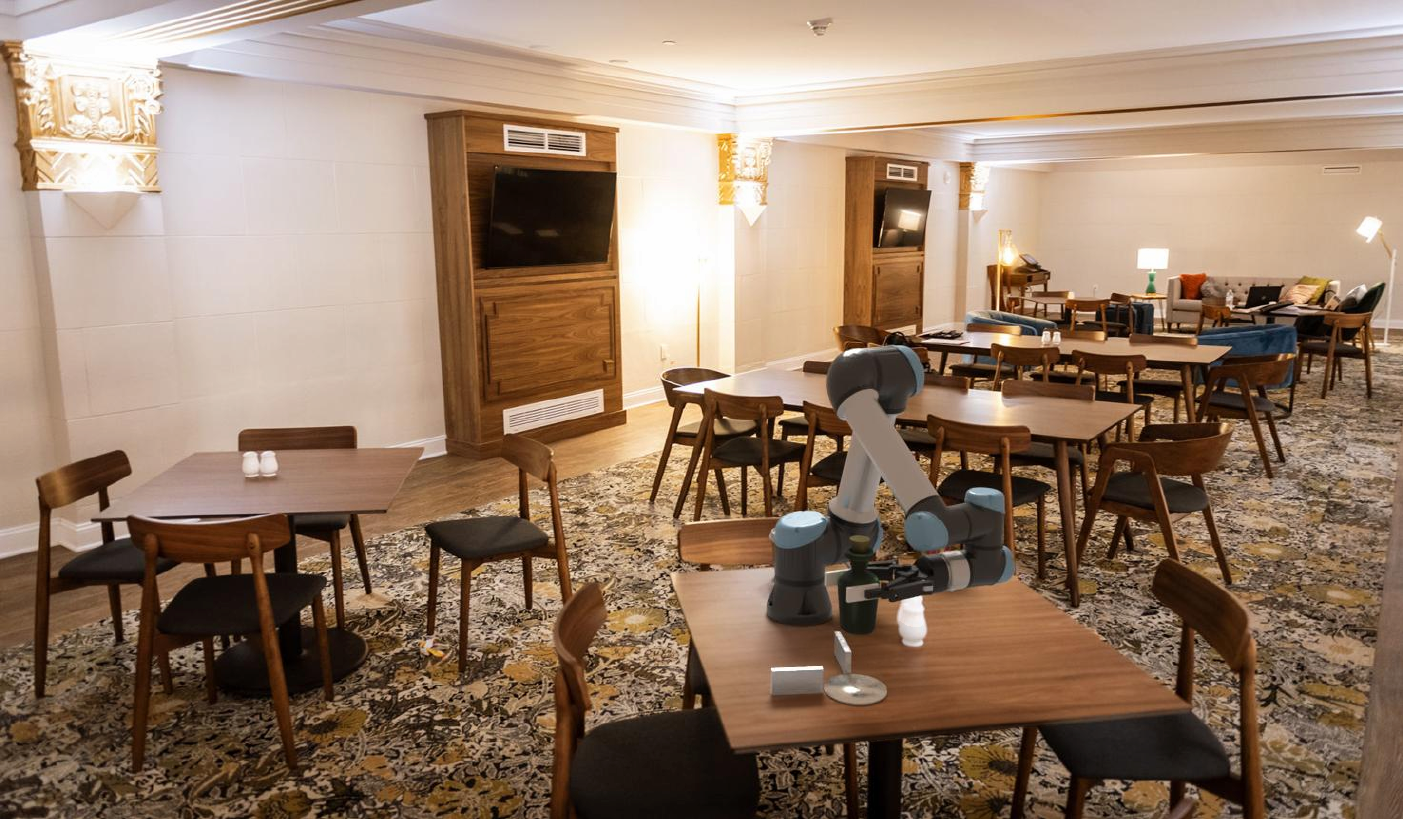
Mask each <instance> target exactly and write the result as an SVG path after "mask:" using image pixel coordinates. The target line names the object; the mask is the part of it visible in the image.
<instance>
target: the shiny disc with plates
mask: <svg viewBox="0 0 1403 819" xmlns="http://www.w3.org/2000/svg"><path fill="white" fill-rule="evenodd" d="M833 642H834V644H833V647H834V648H833V649H834V650H833V654H835V655H834V656H836V657H835V658H836V661H837V662H838V664H839V666H840V668H841V670H842V672H843V674H838V675H835V676H832V677H830V678H828V679H827V680H826V681H825V683H824V667H823V665H821V666H819V665H818V666H817V665H816V666H814V665H813V666H795V667H794V666H793V667H792V666H791V667H771V668H770V695H771V696H787V695H812V694H824V692H825V694H826V696H828V697H829V698H830V699H831V700H834V701H836V702H839V703H842V704H845V705H850V706H851V705H852V706H869V705H875V704H877V703H879V702H881V701H884V700H885V699H886V698H887V694H888V690H887V689H888V688H887V686H886V685H885V684H884V682H882V681H880V680H879V679H878V678H875V677H872V676H870V675H865V674H864V675H863V674H857V673H852V650H851V648H850V647H849V645H848V643H847V641H846V639H845V638H844V636H843V634H842V632H841V631H834V641H833Z"/></svg>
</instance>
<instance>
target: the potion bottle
mask: <svg viewBox="0 0 1403 819" xmlns="http://www.w3.org/2000/svg"><path fill="white" fill-rule="evenodd" d="M869 542H870V538H869V537H866V536H861V535H856V536H851V537H850V543H851V547H848V548H846V550H845V552H844V557H846V558H847V559H849V560H850V561H849V563H850V564H851V569H850V570H848V571H845V572H843V573H842V574H841V575H840V576H839V578H838V579H837V585H836V586H837V597H838V610H839V611H838V613H839V622H840V623H839V626H840V629H841V630H842V631H843V632H844V633H846V634H849V635H856V636H864V635H865V636H866V635H868V634H872V633H873V631H874V630H876V622H877V616H878V606H879V599H880V598H877V599H871V600H864V601H857V602H850V603H847V602H846V587H853V586H861V585H868V584H875V583H878V584H879V588H881V581H879V579H878V577H877V575H875V574H873V573H872V572H870V571H868V570H867V567H868V563H869V562H870V561H872V560H874V559H875V558H876V554H875V553H874V551H873V549H871V548H868V546H869ZM850 564H849V565H850Z"/></svg>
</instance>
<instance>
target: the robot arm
mask: <svg viewBox="0 0 1403 819" xmlns="http://www.w3.org/2000/svg"><path fill="white" fill-rule="evenodd" d="M924 383H925V370H924V365H923V364H922V363H921V359H920V357H919V355H918V354H917V353H916V352H915V351H914V350H913V349H911V348H910V347H908V346H905V345H895V344H887V345H883V346H874V347H873V346H872V347H862V348H859V347H857V348H856V347H855V348H850V349H847V350H845V351H843V352H841V353H840V354H838V355H837V356H836V357H835V358H834V359H833V360H832V362H831V363H830V365H829V367H828V370H827V374H826V380H825V388H826V394H827V397H828V401H829V403H830V405H831V407H832V410H833V411H834V413H835V414H836V416H837V417H838V418H839V420H842V421H846V423H847V424H848V426H849V427H850V429H851V431H852V433H851V437H850V442H849V446H848V449H847V455H846V458H845V463H844V467H843V472H842V475H841V480H840V484H839V488H838V493H837V496H835V497H833V498H831V499H830V500H829V502H828V506H827V509H826V510H827V512H826V514H825V515H824V514H823V513H821V512H818V511H814V510H804V511H802V510H799V511H794V512H790V513H787V514H784V515H783V516H782V517H780V518H779V519H778V520H777V522H776V525H775V527H774V528H775V536H774V542H775V572H774V580H773V581H774V582H773V584H772V588H771V590H770V593H769V595H768V599H767V602H766V614H767V615H766V616H767V617H769V619H771V620H772V619H773V620H772V621H774V620H775V621H774V622H776V621H777V623H779V622H780V624H784V625H788V626H796V627H808V626H809V627H811V626H815V625H820V624H822V623H826V622H827V621H829V620H831V618H832V616H833V614H832V613H833V606H832V605H833V604H832V602H831V598H830V596H829V592H828V589H827V587H834V586H835V587H836V586H838V585H837V579H838V578H839V576H840V575H841V574H842V573H843V572H845V571H848V570H850V569H848V568H845V569H838V570H831V571H826V568H827V567H830V566H834V565H840V564H844V563H845V562H847V563H850V560H849V559H847V558H846V557H844V552H845V550H846V548H848V547H851V543H850V537H851V536H856V535H861V536H866V537H869V538H870V542H869V546H868V548H871V549H873V551H874V554H875V553H876V552H878V550H879V549H880V547H881V544H882V541H883V537H884V529H883V528H882V525H883V523H882V519H881V518H880V517H879V513H878V512H879V511H878V510H877V508H876V506H875V501H876V496H877V494H878V489H879V485H880V481H881V478H882V479H883V481H884V482H885V484H886V485H887V487H888V489H889V490H890V492H891V494H892V495H893V497H894V499H896V501H897V503H898V505H899V506H900V507H901V509H902V511H903V513H904V514H905V516H906V519H905V521H904V526H903V532H904V533H905V540H906V542H907V543H908V544H909V545H910V547H911V548H913V549H914V550H916V551H918V552H922V551H933V550H940V549H942V548H945V547H949V546H951V547H952V546H956V545H961V544H963V549H960V550H958V549H957V550H950V551H949V552H941V553H938V554H929V555H922V554H921V555H919V556H918V557H917V558H916V559H915V561H914V563H912V564H911V563H903V564H900V563H899V562H900V561H899V559H896V558H895V559H890V560H881V561H879V560H878V561H869V563H868V567H867V570H868V571H870V572H872V573H873V574H875V575H877V577H878V579H879V581H880V588H879V584H878V583H875V584H868V585H861V586H853V587H846V602H847V603H850V602H857V601H864V600H871V599H877V598H879V599H881V600H887V599H888V602H889V603H897V602H900V601H904V600H909V599H912V598H916V597H921V596H930V595H933V594H938V593H943V592H951V593H953V592H955V591H957V590H962V589H964V590H965V589H969V588H977V587H978V588H979V587H986V586H988V587H989V586H995V585H999V584H1002V583H1006V582H1008V581H1010V580H1011V579H1012V578H1013V576H1014V574H1015V571H1016V562H1015V561H1014V558H1015V557H1014V555H1013V552H1012V551H1011V550H1010V549H1009V547H1007V546H1005V545H1004V544H1003V543H1004V530H1005V528H1004V526H1005V514H1006V509H1005V508H1006V507H1005V504H1006V503H1005V495H1004V494H1003V492H1002V491H1000V490H998V489H995V488H989V487H972V488H969V489H968V490H967V491H966V492H965V495H964V502H963V503H959V504H958V503H957V504H953V505H951V504H950V505H948V506H947V505H946V504H945V502H944V501H943V499H942V497H941V496H940V494H939V492H938V491H937V490H936V488H935V487H934V486H933V484H932V482H931V481H930V479H929V477H928V476H927V474H926V473H925V472H924V470H923V469H922V467H921V466H920V464H919V462H918V461H917V459H916V458H915V456H914V455H913V453H912V451H911V450H910V448H909V447H908V445H907V444H906V443H905V441H904V440H903V438H902V436H901V435H900V433H899V432H898V430H897V428H896V427H895V424H896V419H897V417H898V416H900V415H902V414H904V413H905V412H906V408H907V404H908V400H909V398H913V397H915V396H916V395H918V394H919V393H920V392H921V391H922V389H923V387H924V385H925V384H924Z"/></svg>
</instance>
